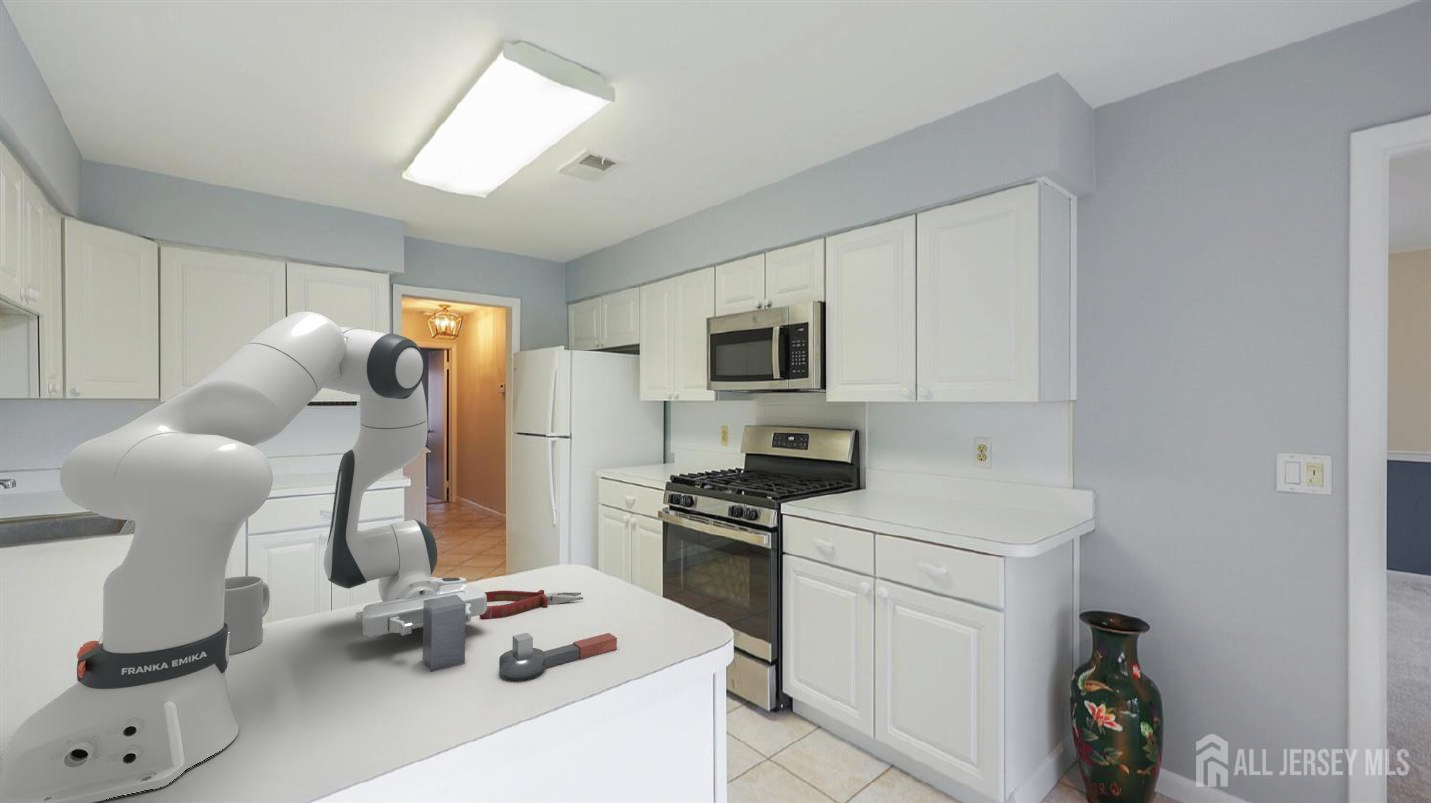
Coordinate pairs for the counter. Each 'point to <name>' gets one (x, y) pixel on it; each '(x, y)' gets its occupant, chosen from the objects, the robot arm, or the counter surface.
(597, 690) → the counter surface
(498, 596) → the pliers
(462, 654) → the grey square pillar
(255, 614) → the mug
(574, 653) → the ratchet
